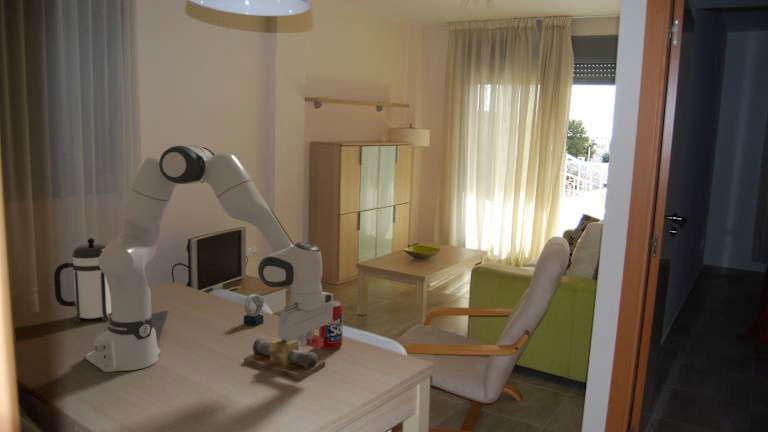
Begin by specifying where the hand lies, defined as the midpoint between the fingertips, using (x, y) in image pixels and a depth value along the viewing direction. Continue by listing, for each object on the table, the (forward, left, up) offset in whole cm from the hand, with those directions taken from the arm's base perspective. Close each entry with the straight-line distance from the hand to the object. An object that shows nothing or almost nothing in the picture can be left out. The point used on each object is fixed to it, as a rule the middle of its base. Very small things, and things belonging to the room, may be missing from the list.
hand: (305, 345), depth 166 cm
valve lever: (-5, +3, -1) cm, 6 cm away
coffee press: (-96, -5, -10) cm, 96 cm away
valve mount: (-11, +3, -10) cm, 15 cm away
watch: (-44, +25, -10) cm, 52 cm away
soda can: (-8, +23, -10) cm, 26 cm away
